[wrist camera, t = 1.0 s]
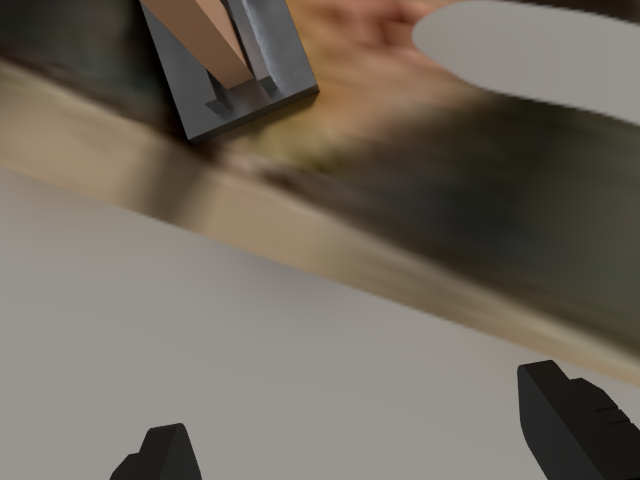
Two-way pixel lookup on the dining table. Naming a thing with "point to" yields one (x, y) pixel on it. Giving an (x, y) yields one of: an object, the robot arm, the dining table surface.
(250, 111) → the rack
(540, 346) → the dining table surface
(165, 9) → the board
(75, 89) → the dining table surface
